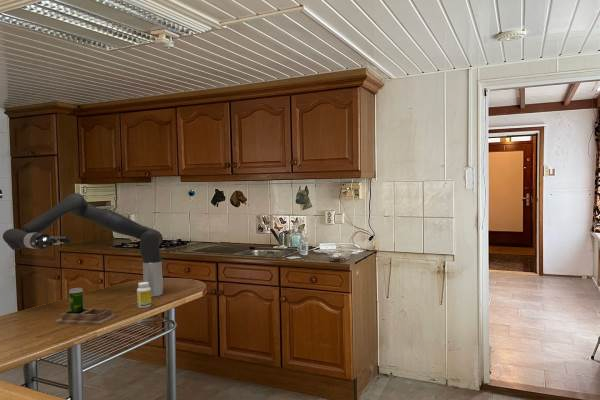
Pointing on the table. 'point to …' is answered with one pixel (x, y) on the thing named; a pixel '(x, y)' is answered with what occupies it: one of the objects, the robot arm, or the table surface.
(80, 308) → the beer can
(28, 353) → the table surface
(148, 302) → the pill bottle
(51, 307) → the table surface
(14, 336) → the table surface
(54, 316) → the table surface
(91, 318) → the rack
